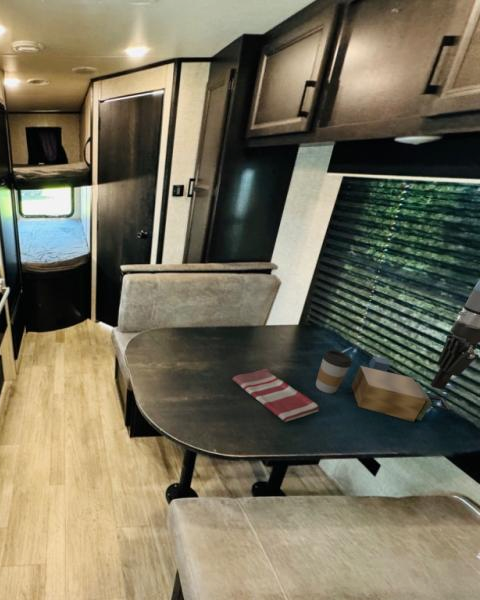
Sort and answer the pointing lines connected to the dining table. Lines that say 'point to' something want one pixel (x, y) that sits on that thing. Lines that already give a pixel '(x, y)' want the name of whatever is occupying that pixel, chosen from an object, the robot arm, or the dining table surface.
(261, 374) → the dish towel
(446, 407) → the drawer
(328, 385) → the coffee cup
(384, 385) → the cabinet
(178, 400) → the dining table surface
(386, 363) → the block
